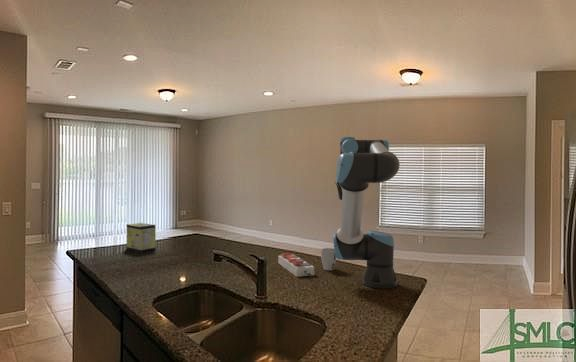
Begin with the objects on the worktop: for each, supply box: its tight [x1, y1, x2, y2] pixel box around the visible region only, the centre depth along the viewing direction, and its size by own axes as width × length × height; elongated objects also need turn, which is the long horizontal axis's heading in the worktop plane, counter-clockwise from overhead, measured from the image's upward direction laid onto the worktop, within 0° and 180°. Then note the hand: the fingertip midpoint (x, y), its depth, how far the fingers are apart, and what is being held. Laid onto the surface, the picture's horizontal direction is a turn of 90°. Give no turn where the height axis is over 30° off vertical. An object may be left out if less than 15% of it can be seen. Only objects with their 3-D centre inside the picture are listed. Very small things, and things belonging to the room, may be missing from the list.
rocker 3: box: [292, 261, 303, 264], centre depth 194 cm, size 5×4×2 cm
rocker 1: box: [280, 252, 292, 256], centre depth 211 cm, size 5×4×2 cm
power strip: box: [277, 254, 315, 277], centre depth 201 cm, size 34×9×4 cm, turn 19°
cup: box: [320, 247, 337, 272], centre depth 203 cm, size 8×8×10 cm
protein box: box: [126, 222, 157, 253], centre depth 245 cm, size 10×16×16 cm
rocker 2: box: [287, 254, 297, 262], centre depth 203 cm, size 5×4×2 cm
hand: (346, 213), depth 203 cm, fingers closed
